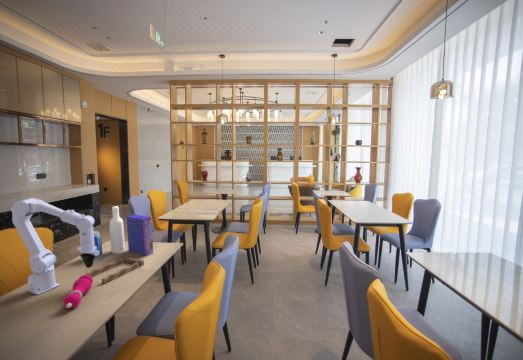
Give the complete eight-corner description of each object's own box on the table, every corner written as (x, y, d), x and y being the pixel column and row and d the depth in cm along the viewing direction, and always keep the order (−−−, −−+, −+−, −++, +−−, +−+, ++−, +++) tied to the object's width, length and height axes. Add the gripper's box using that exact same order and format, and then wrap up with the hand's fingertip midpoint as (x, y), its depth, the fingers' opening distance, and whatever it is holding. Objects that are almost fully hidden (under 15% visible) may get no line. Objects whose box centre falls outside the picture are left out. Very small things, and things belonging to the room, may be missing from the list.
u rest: (104, 283, 126) (104, 279, 126) (86, 277, 133) (85, 273, 132) (143, 264, 148) (143, 260, 147) (126, 260, 154) (126, 256, 153)
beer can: (105, 255, 161) (103, 230, 160) (95, 260, 153) (93, 235, 151) (93, 254, 162) (91, 230, 160) (83, 260, 154) (80, 234, 152)
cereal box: (153, 253, 164) (151, 217, 162) (146, 255, 160) (144, 219, 157) (135, 248, 172) (133, 214, 169) (128, 251, 168) (126, 215, 165)
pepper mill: (87, 290, 123) (70, 317, 104) (73, 283, 121) (53, 310, 102) (97, 278, 124) (82, 303, 105) (83, 271, 121) (65, 295, 102)
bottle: (114, 254, 162) (111, 208, 159) (109, 251, 167) (106, 207, 164) (127, 250, 169) (124, 206, 165) (121, 247, 173) (119, 204, 170)
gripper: (104, 240, 126) (106, 266, 127) (86, 236, 132) (88, 261, 133) (90, 245, 119) (92, 272, 121) (71, 240, 125) (74, 266, 127)
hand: (89, 266), depth 126 cm, fingers closed
